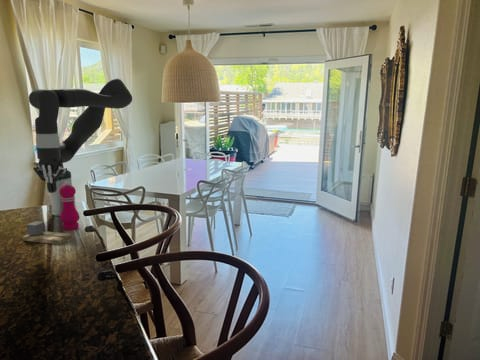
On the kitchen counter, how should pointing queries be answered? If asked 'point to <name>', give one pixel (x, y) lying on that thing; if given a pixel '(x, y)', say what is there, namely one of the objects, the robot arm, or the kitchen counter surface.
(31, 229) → the selector knob
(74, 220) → the pepper mill
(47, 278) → the kitchen counter surface
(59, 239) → the selector board
